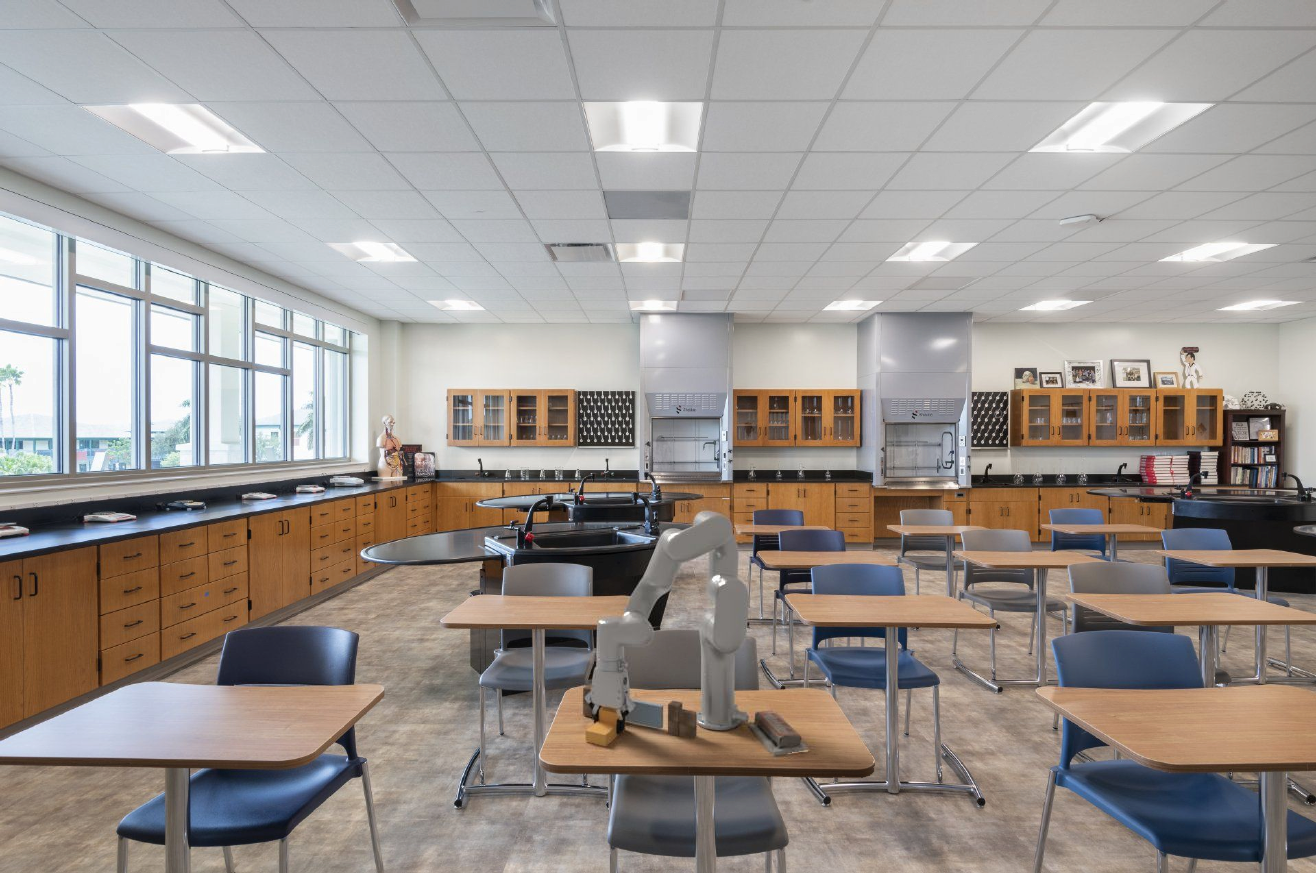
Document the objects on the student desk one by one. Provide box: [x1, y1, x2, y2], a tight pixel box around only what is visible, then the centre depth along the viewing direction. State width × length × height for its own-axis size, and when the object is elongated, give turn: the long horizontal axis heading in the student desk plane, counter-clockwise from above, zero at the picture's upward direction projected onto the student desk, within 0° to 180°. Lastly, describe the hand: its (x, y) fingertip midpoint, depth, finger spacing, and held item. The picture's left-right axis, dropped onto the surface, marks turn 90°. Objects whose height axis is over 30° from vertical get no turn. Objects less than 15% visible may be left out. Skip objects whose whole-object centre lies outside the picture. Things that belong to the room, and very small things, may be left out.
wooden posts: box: [582, 684, 698, 739], centre depth 178 cm, size 35×3×8 cm, turn 64°
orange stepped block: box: [585, 706, 626, 747], centre depth 171 cm, size 11×6×6 cm, turn 155°
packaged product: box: [748, 710, 810, 757], centre depth 169 cm, size 18×5×10 cm
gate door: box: [602, 698, 664, 729], centre depth 179 cm, size 21×1×6 cm, turn 64°
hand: (609, 729), depth 173 cm, fingers closed on orange stepped block, 6 cm apart
